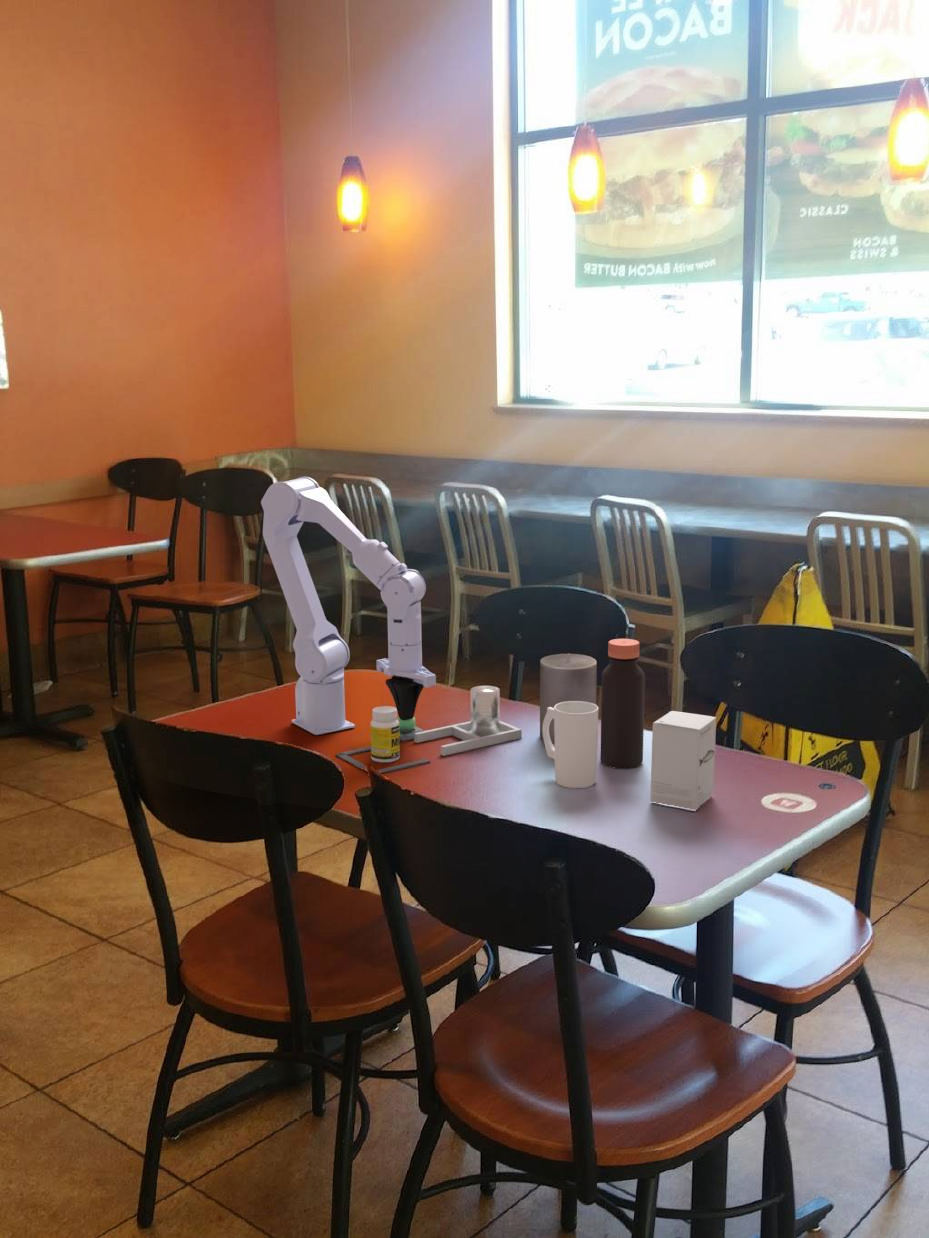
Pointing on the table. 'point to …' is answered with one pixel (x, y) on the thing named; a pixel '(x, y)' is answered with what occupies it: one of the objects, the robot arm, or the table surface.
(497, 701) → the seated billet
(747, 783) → the table surface
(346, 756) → the tote
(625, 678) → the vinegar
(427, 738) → the workpiece holding fixture
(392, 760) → the supplement bottle
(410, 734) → the grey button base
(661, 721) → the supplement box
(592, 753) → the mug
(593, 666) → the pillar candle
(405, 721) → the button
